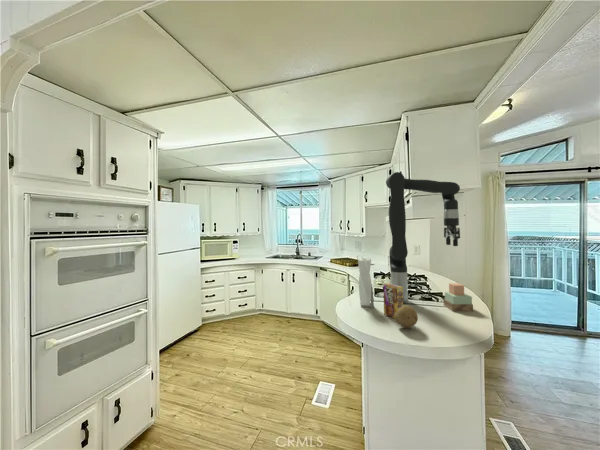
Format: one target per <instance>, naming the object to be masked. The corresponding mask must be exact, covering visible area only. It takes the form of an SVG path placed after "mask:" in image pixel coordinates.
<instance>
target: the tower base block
mask: <svg viewBox="0 0 600 450" xmlns="http://www.w3.org/2000/svg"><path fill="white" fill-rule="evenodd" d="M442 300H443V306H444V307H445V308H447V309H448V310H450V311H451V312H466V313H467V312H471V313H472V312H474V305H473V303H472V304H452V303H451V302H449V301H447V300H446V299H445V298H443V299H442Z"/></svg>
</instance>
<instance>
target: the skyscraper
mask: <svg viewBox="0 0 600 450" xmlns="http://www.w3.org/2000/svg"><path fill="white" fill-rule="evenodd" d="M358 257H360V258H361V259H359V258H358ZM356 258H357V263H358V264H357V265H358V271H359V276H358V293H359V294H358V295H359V304H360V308H368V309H369V308H370V309H371V308H372V309H373V308H374V309H375V304H374V302H375V300H374V291H373V290H374V289H373V288H374V287H373V284H372V278H371V277H372V276H371V265H372V264H371V263H372V259H371V258H369V257H363V256H361V255H356Z"/></svg>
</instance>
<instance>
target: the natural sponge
mask: <svg viewBox="0 0 600 450" xmlns="http://www.w3.org/2000/svg"><path fill="white" fill-rule="evenodd" d="M418 316H419V315H418V313H417V311H416V309H415V308H413V307H412V306H411V305H408V304H406V305H404V304H403V306H401V307H400V308H399V309H398V311H397V313H396V315H395V318H394V320H395V322H396V323H397V324H398V325H400V326H401V327H402V328H404V329H407V330H409V329H411V328H412V327H413V326H415V325H416V324H417V323H418V321H419V320H418V319H419V317H418Z"/></svg>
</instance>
